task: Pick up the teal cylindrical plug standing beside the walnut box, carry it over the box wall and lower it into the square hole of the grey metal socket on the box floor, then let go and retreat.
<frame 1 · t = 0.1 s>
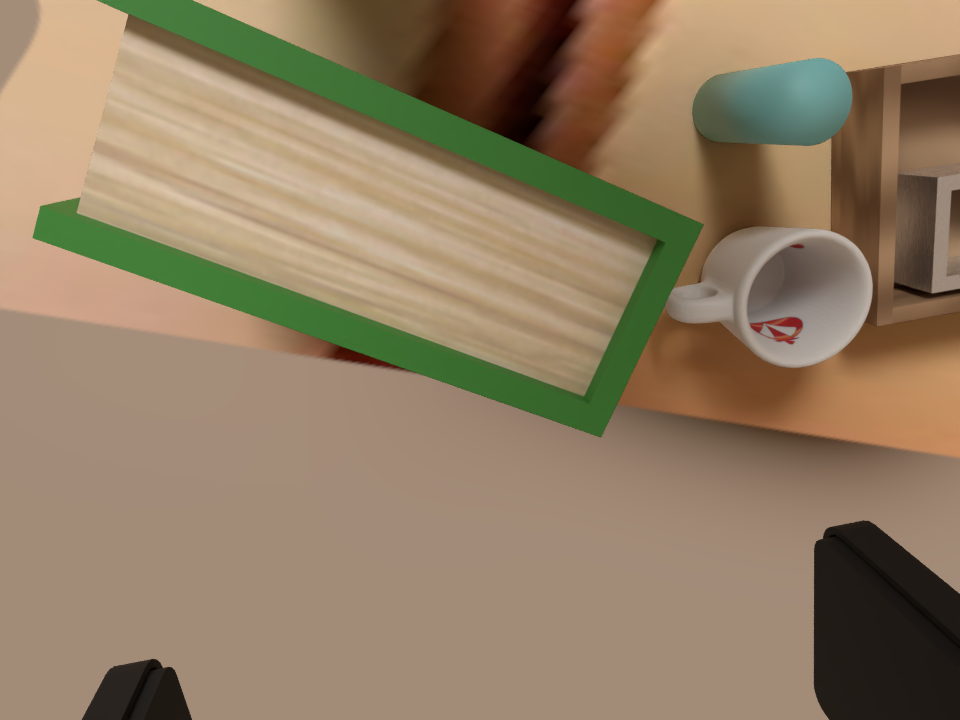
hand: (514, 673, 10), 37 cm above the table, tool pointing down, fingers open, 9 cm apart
box: (932, 179, 47), on the table
socket: (930, 217, 48), resting on box
plug: (723, 108, 45), on the table
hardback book: (389, 178, 44), on the table
cup: (720, 277, 48), on the table
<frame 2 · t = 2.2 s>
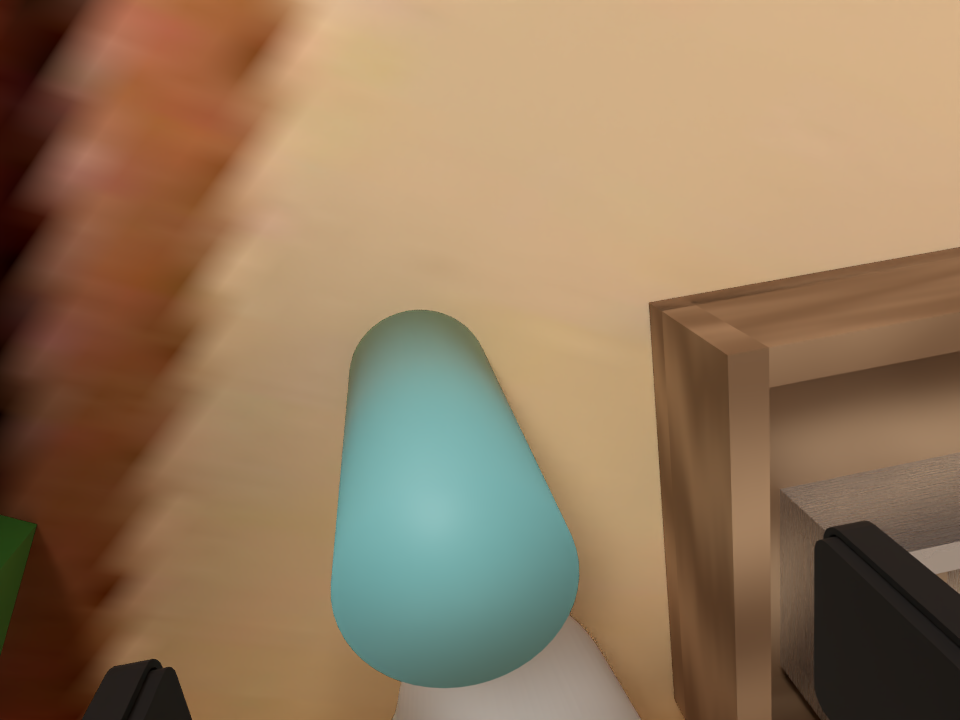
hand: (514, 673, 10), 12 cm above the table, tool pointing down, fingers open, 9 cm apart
box: (862, 480, 24), on the table
socket: (859, 543, 25), resting on box
plug: (419, 376, 21), on the table
cup: (455, 665, 25), on the table
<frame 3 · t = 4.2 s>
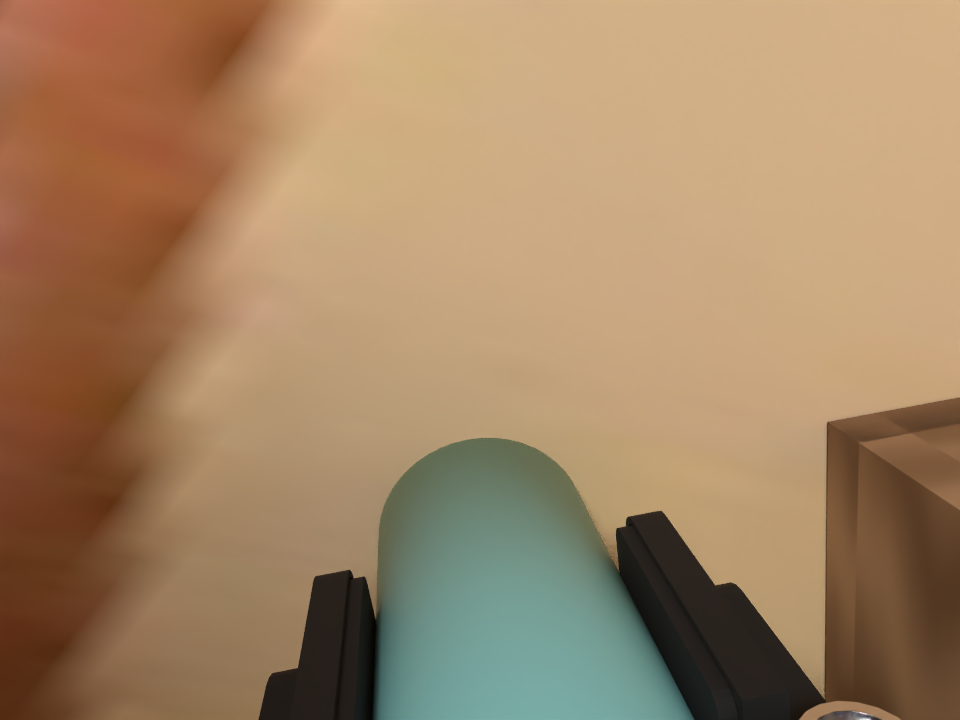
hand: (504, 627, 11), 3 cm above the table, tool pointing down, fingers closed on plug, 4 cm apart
plug: (482, 533, 14), on the table, touching gripper
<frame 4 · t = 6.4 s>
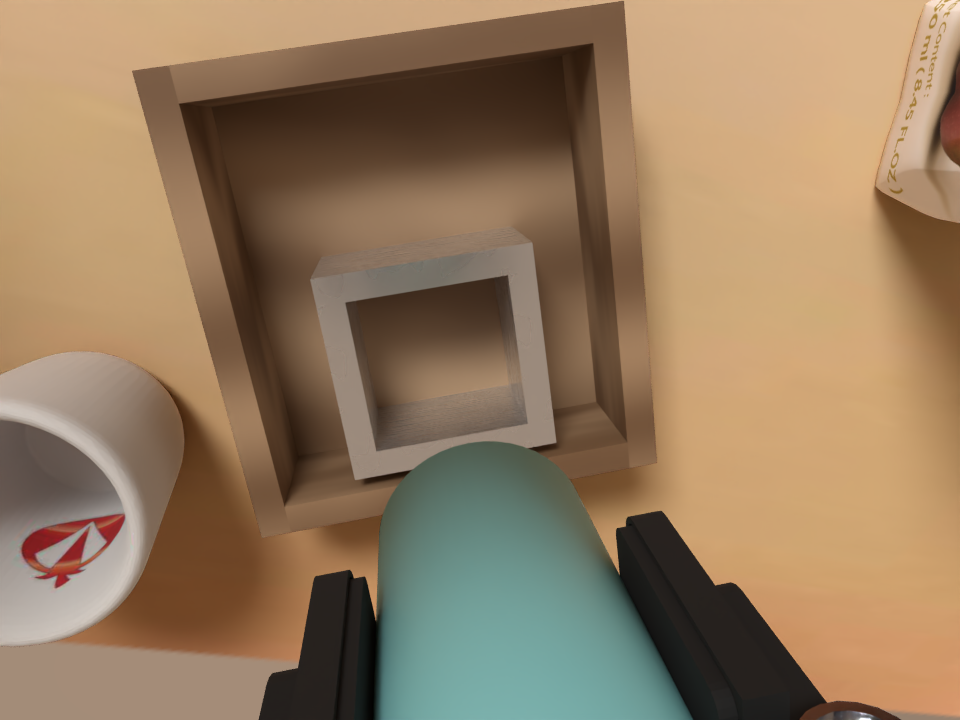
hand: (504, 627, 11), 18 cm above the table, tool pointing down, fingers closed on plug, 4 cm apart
box: (420, 263, 28), on the table
socket: (431, 326, 28), resting on box
plug: (483, 536, 14), point 15 cm above the table, touching gripper
cup: (67, 428, 28), on the table
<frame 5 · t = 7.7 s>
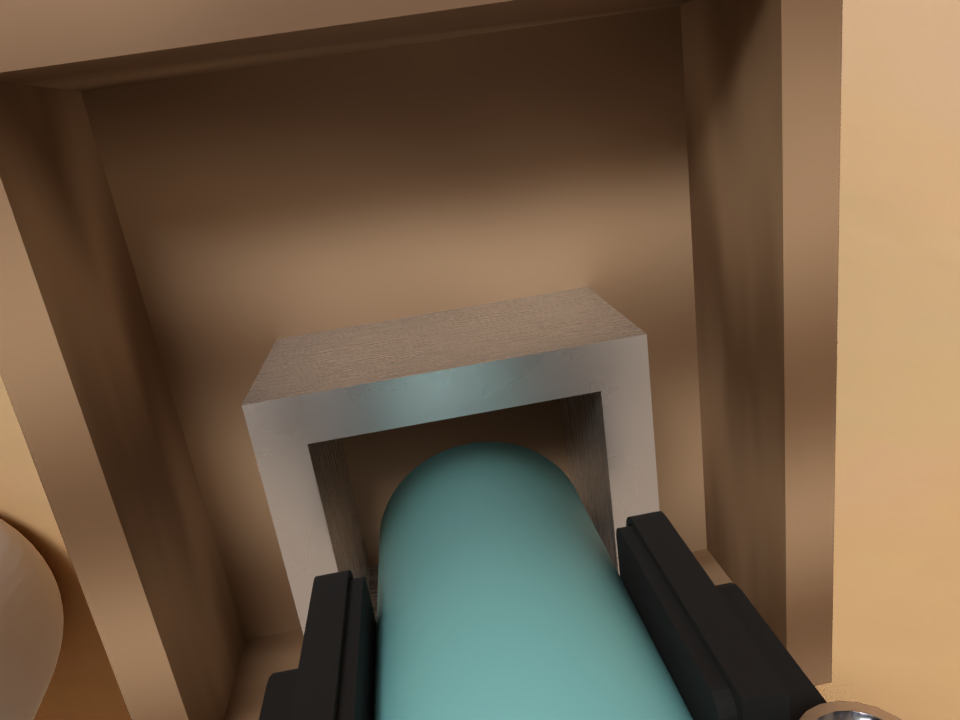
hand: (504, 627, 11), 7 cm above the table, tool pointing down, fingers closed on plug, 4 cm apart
box: (438, 342, 17), on the table
socket: (454, 436, 18), resting on box
plug: (483, 536, 14), point 5 cm above the table, touching gripper
when the fingers open (6 cm above the table, at t = 8.7 s): plug drops 2 cm, resting on box.
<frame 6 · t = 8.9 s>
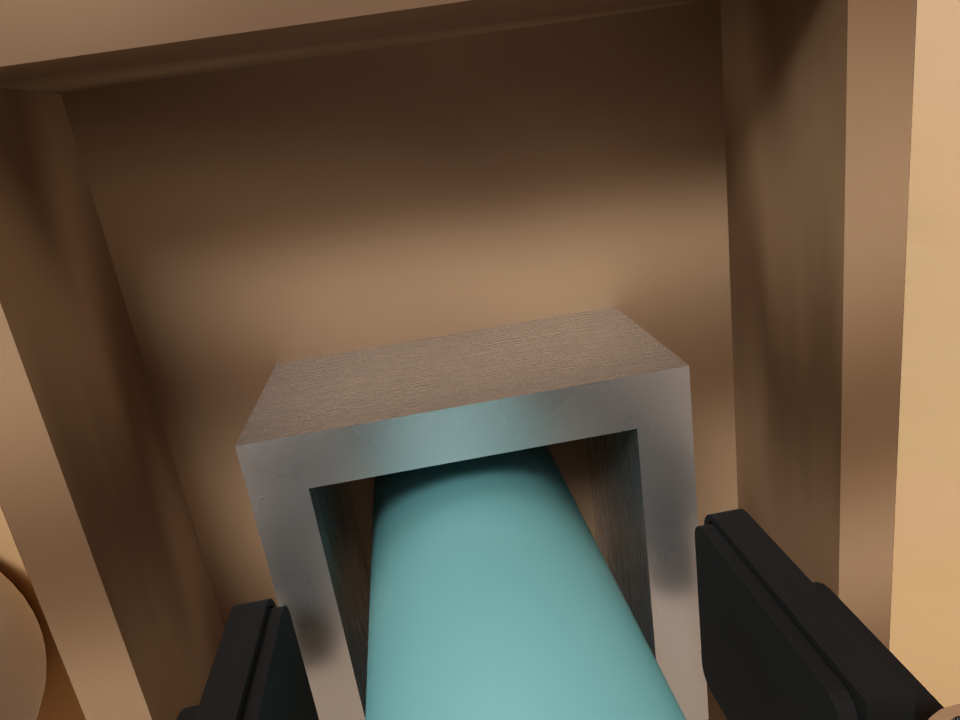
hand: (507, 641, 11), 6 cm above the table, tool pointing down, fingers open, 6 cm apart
box: (451, 365, 16), on the table
socket: (468, 466, 17), resting on box
plug: (466, 488, 16), point 1 cm above the table, touching box
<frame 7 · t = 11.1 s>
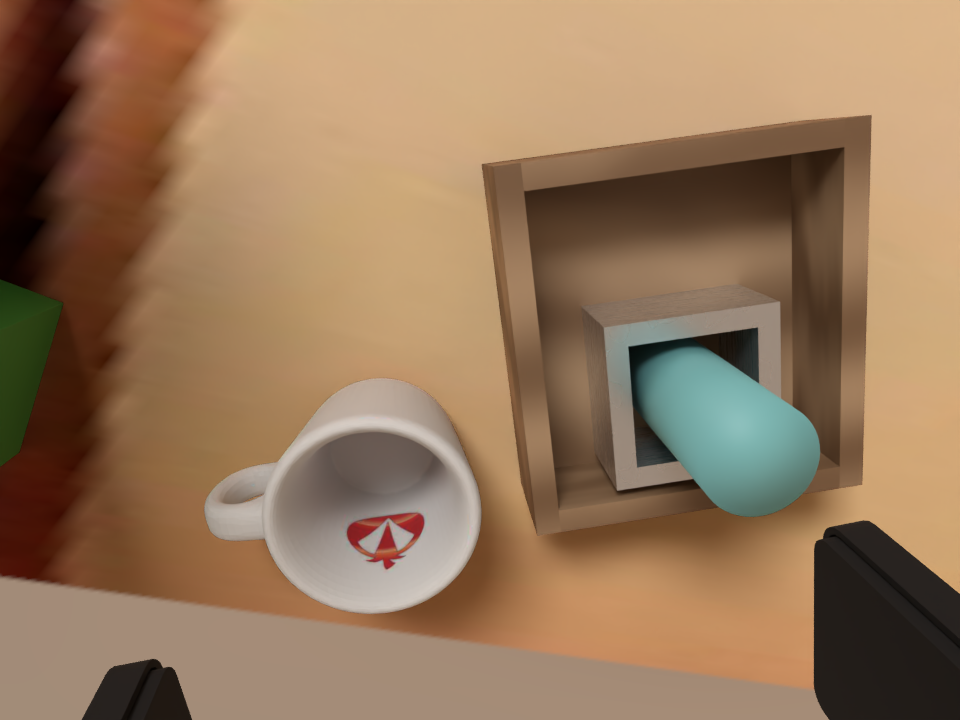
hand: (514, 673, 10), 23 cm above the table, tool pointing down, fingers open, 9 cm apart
box: (653, 312, 33), on the table
socket: (657, 363, 34), resting on box
plug: (660, 370, 33), point 1 cm above the table, touching box
cup: (353, 441, 34), on the table
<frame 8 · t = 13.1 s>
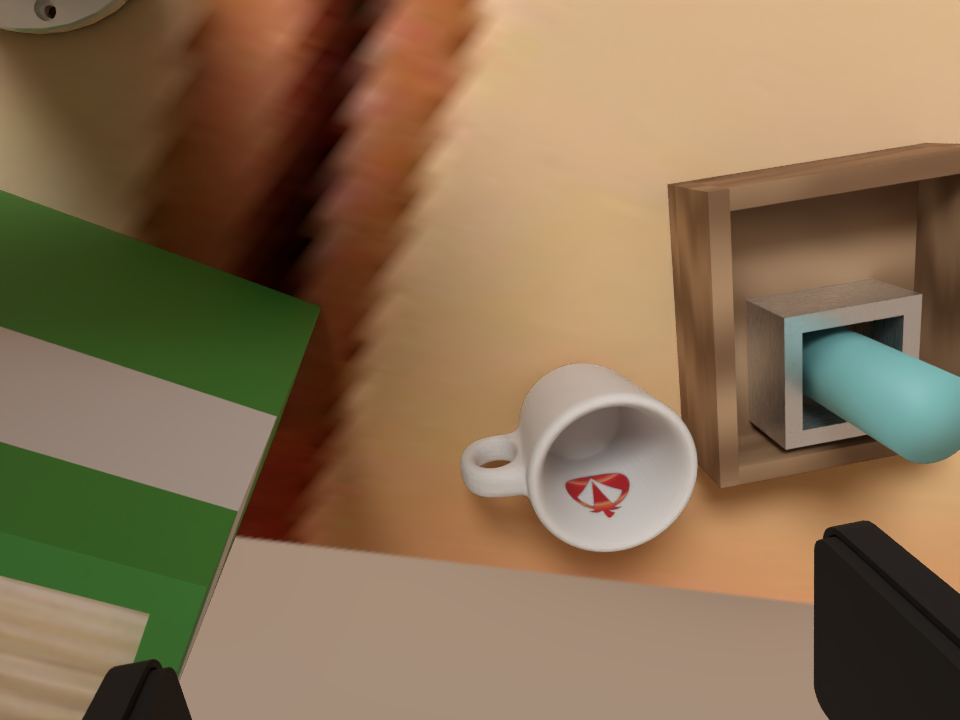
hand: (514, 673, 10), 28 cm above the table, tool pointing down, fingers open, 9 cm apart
box: (798, 302, 40), on the table
socket: (798, 345, 41), resting on box
plug: (805, 351, 40), point 1 cm above the table, touching box
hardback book: (127, 311, 36), on the table
cup: (548, 416, 40), on the table
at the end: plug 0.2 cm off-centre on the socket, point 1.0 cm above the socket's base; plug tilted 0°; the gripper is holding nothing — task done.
